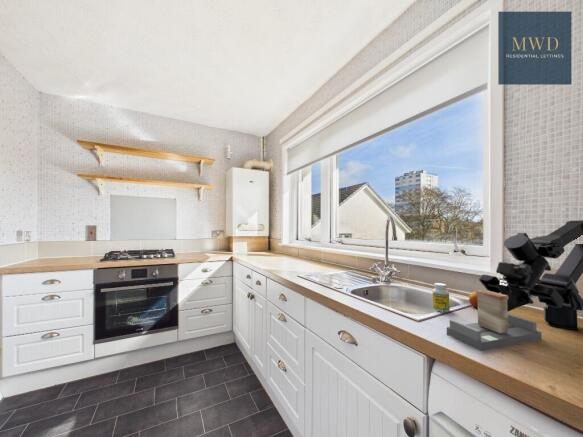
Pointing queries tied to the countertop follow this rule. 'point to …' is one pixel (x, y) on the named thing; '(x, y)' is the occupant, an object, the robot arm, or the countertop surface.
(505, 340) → the grooved grey tray
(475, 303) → the fruit
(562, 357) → the countertop surface
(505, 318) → the wooden rectangular block
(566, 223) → the robot arm
